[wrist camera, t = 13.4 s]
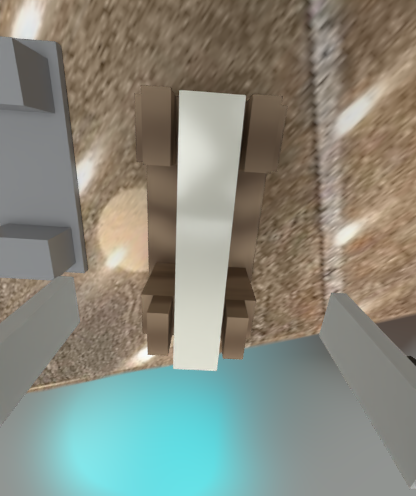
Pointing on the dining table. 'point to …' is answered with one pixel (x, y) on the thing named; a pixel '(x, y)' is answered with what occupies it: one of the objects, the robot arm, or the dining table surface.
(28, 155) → the stand
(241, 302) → the notched wooden cradle
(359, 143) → the dining table surface
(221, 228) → the white rectangular bar
